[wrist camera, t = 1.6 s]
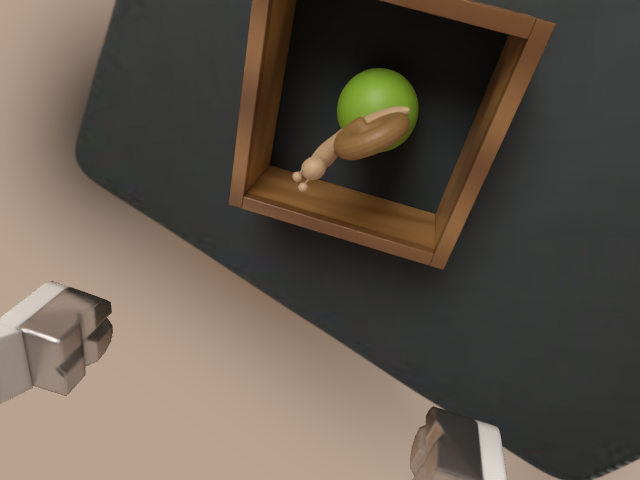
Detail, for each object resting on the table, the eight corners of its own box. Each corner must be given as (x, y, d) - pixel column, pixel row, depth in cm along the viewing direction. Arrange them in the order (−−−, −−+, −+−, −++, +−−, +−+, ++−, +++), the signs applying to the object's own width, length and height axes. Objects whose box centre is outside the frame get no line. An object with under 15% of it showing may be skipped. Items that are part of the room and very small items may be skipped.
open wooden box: (291, -49, 29) (257, -54, 23) (533, 14, 28) (556, 23, 22) (258, 171, 37) (228, 204, 32) (442, 226, 36) (443, 270, 31)
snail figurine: (320, 89, 33) (268, 140, 23) (401, 47, 30) (385, 84, 20) (351, 154, 35) (318, 228, 25) (431, 120, 32) (429, 186, 22)
